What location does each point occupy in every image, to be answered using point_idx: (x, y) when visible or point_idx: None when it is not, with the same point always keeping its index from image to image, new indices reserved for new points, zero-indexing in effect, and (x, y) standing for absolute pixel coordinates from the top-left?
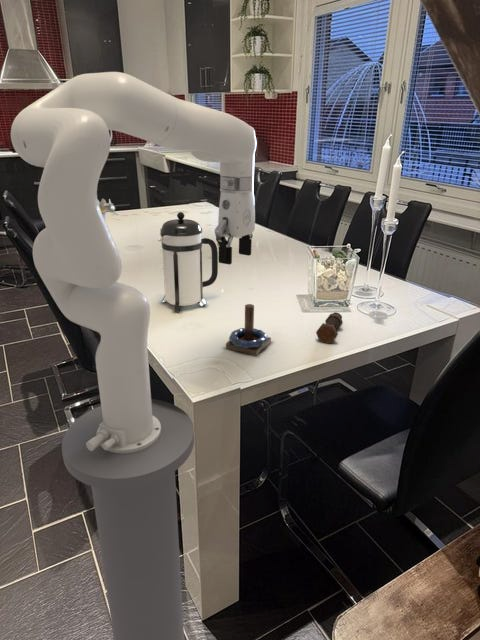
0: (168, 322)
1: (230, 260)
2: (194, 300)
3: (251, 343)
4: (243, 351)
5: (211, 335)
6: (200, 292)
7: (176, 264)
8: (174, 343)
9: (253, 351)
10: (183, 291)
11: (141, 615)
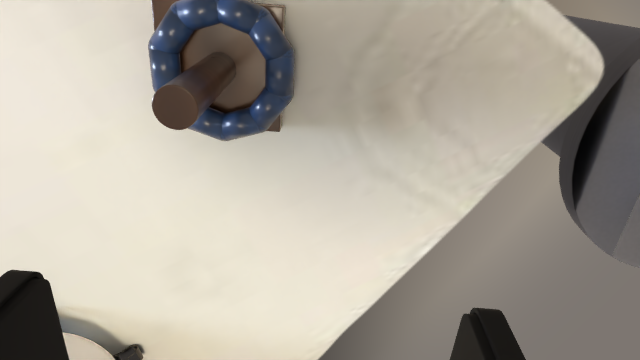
0: (211, 336)
1: (511, 339)
2: (73, 343)
3: (277, 34)
4: None
5: (221, 203)
6: None
7: None
8: (322, 266)
9: (283, 19)
10: None
11: None
